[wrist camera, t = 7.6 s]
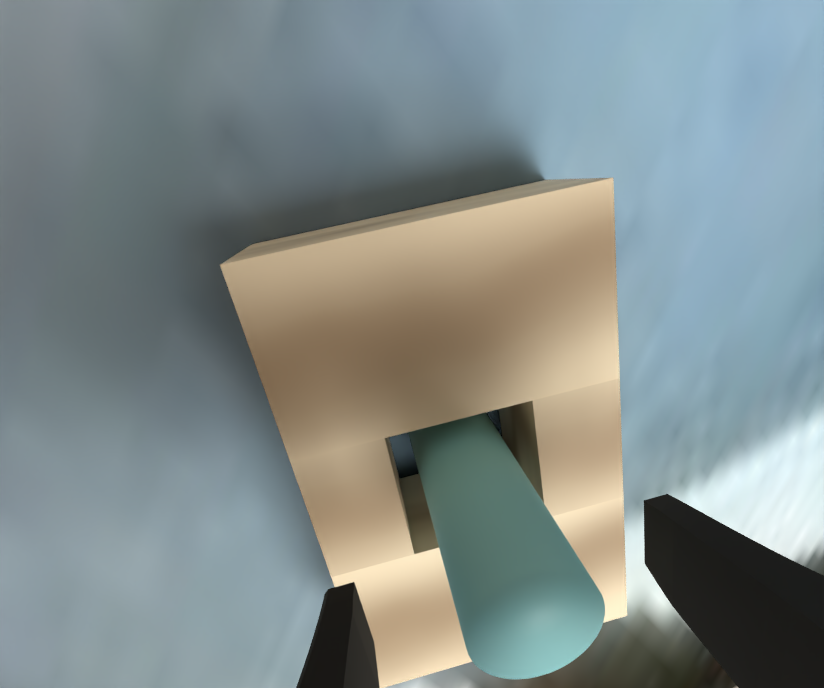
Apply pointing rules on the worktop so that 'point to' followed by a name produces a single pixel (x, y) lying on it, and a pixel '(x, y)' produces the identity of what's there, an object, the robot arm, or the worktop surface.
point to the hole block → (443, 384)
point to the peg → (503, 554)
